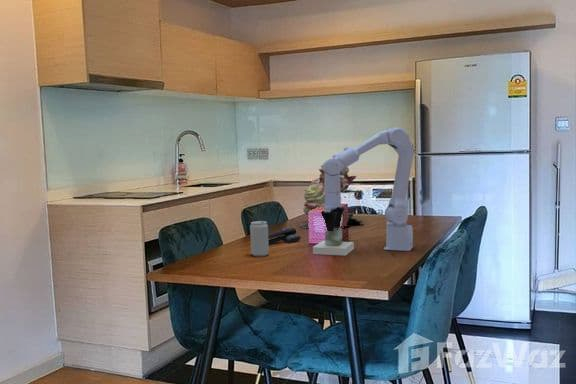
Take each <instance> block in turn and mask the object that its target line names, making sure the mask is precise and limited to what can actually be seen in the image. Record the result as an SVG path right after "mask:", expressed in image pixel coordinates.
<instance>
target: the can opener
mask: <svg viewBox="0 0 576 384" xmlns="http://www.w3.org/2000/svg"><path fill="white" fill-rule="evenodd" d="M301 239H302V237H301V236H300V235H299V234H297V230H296V228H295V227H289V228H282V229H281V230H277V231H273V232H270V233H268V241H269V245H273V244H276V243H279V242H283V241H284V242H285V243H290V244H291V243H292V242H293V243H296V242H298V241H300V240H301Z"/></svg>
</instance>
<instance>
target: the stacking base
mask: <svg viewBox="0 0 576 384" xmlns="http://www.w3.org/2000/svg"><path fill="white" fill-rule="evenodd" d="M354 249H355V243H354V241H342V244H341V245H340V246H325V240H322V241H321V242H319V243H317V244H315V245H314V246H312V254H313V255H325V256H326V255H327V256H328V255H329V256H347V255H348V254H349V253H351V252H352V251H353V250H354Z"/></svg>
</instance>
